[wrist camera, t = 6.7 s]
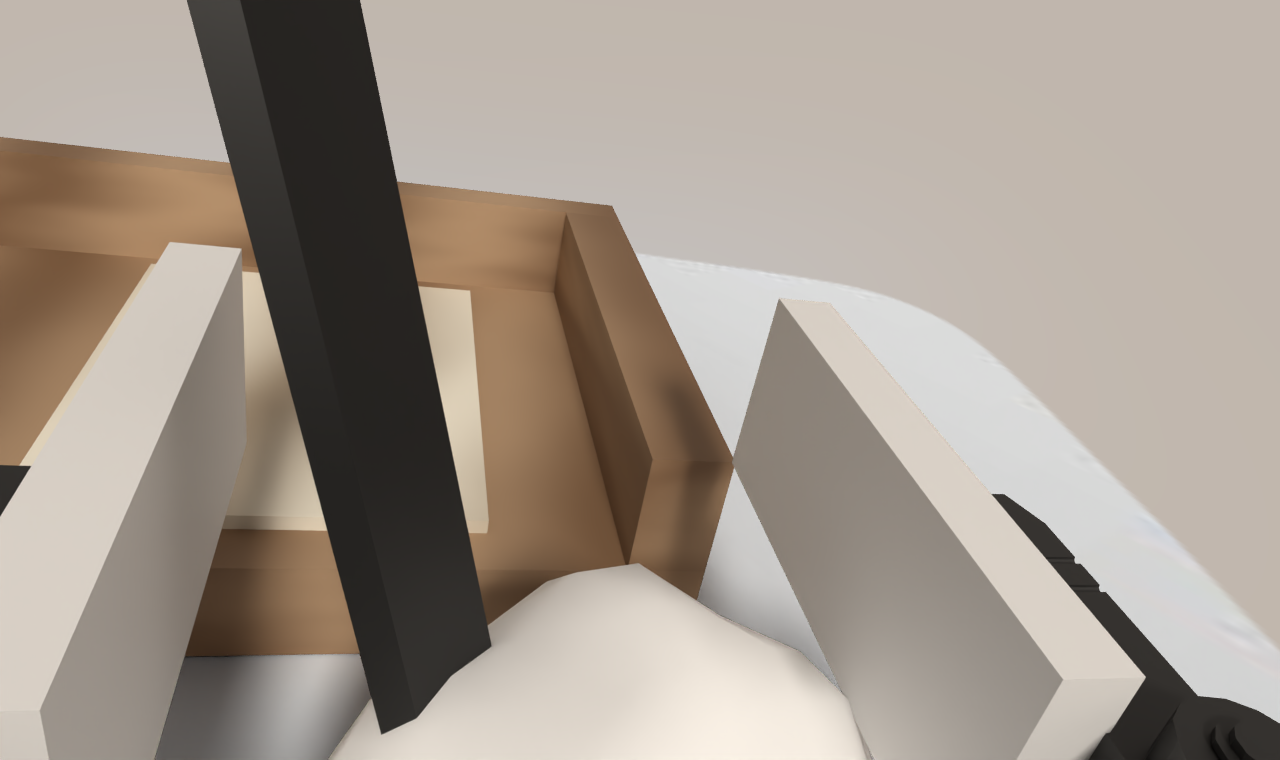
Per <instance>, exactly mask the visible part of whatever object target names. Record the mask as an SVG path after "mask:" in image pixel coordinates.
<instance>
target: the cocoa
mask: <svg viewBox="0 0 1280 760" xmlns="http://www.w3.org/2000/svg"><path fill="white" fill-rule="evenodd" d="M187 2H188V6H189V10H190V14H191V17H192V21H193V25H194V29H195V33H196V36H197V40H198V44H199V47H200V52H201V55H202V59H203V63H204V67H205V70H206V74H207V78H208V82H209V86H210V89H211V93H212V97H213V100H214V104H215V108H216V112H217V116H218V119H219V123H220V127H221V131H222V135H223V138H224V142H225V146H226V150H227V154H228V157H229V161H230V165H231V169H232V173H233V176H234V180H235V184H236V188H237V191H238V195H239V199H240V203H241V207H242V210H243V214H244V218H245V222H246V225H247V229H248V233H249V237H250V241H251V244H252V248H253V252H254V256H255V259H256V263H257V267H258V271H259V275H260V278H261V282H262V286H263V290H264V293H265V297H266V301H267V305H268V309H269V312H270V316H271V320H272V324H273V327H274V331H275V335H276V339H277V343H278V346H279V350H280V354H281V358H282V361H283V365H284V369H285V373H286V377H287V380H288V384H289V388H290V392H291V395H292V399H293V403H294V407H295V411H296V414H297V418H298V422H299V426H300V429H301V433H302V437H303V441H304V445H305V448H306V452H307V456H308V460H309V463H310V467H311V471H312V475H313V479H314V482H315V486H316V490H317V494H318V497H319V501H320V505H321V509H322V513H323V516H324V520H325V524H326V528H327V532H328V535H329V539H330V543H331V547H332V550H333V554H334V558H335V562H336V566H337V569H338V573H339V577H340V581H341V584H342V588H343V592H344V596H345V600H346V603H347V607H348V611H349V615H350V618H351V622H352V626H353V630H354V634H355V637H356V641H357V645H358V649H359V652H360V656H361V660H362V664H363V668H364V671H365V675H366V679H367V683H368V686H369V690H370V694H371V699H370V700H369V702H368V703H367V704H366V706H365V707H364V709H363V710H362V711H361V713H360V714H359V716H358V717H357V719H356V720H355V721H354V723H353V724H352V726H351V727H350V728H349V730H348V731H347V733H346V734H345V735H344V737H343V738H342V740H341V741H340V743H339V744H338V745H337V747H336V748H335V750H334V751H333V752H332V754H331V755H330V757H329V758H328V759H327V760H872V757H871V754H870V750H869V748H868V746H867V744H866V742H865V739H864V737H863V735H862V733H861V731H860V729H859V727H858V725H857V723H856V721H855V719H854V716H853V713H852V709H851V706H850V702H849V700H848V699H847V698H846V697H845V696H844V695H843V694H842V693H841V692H840V691H839V690H838V689H837V688H836V687H835V686H834V685H833V684H832V683H831V682H830V681H829V680H828V679H827V678H826V677H825V676H824V675H823V674H822V673H821V672H820V671H819V670H818V669H817V668H816V667H815V666H814V665H813V664H812V663H811V662H810V661H809V660H808V659H807V658H806V657H805V656H804V655H803V654H802V653H801V652H800V651H798V650H796V649H794V648H791V647H789V646H787V645H785V644H783V643H780V642H778V641H776V640H774V639H771V638H769V637H767V636H765V635H763V634H760V633H758V632H756V631H754V630H751V629H749V628H747V627H745V626H742V625H740V624H738V623H736V622H734V621H731V620H729V619H727V618H725V617H722V616H720V615H718V614H717V613H715V612H714V611H712V610H711V609H709V608H708V607H706V606H704V605H703V604H701V603H700V602H698V601H697V600H695V599H693V598H692V597H690V596H689V595H687V594H686V593H684V592H683V591H681V590H679V589H678V588H676V587H675V586H673V585H672V584H670V583H669V582H667V581H665V580H664V579H662V578H661V577H659V576H658V575H656V574H654V573H653V572H651V571H650V570H648V569H647V568H645V567H644V566H642V565H640V564H639V563H637V564H630V565H623V566H616V567H610V568H603V569H596V570H589V571H583V572H576V573H573V574H569V575H566V576H563V577H560V578H556V579H553V580H550V581H547V582H545V583H544V584H543V585H541V586H540V587H539V588H537V589H536V590H535V591H533V592H532V593H531V594H529V595H528V596H527V597H525V598H524V599H523V600H521V601H520V602H519V603H517V604H516V605H515V606H513V607H512V608H510V609H509V610H508V611H506V612H505V613H504V614H502V615H501V616H500V617H498V618H497V619H496V620H494V621H493V622H492V623H490V624H489V625H488V626H487V621H486V616H485V611H484V606H483V601H482V596H481V591H480V586H479V581H478V576H477V572H476V567H475V562H474V557H473V552H472V547H471V542H470V537H469V532H468V527H467V523H466V518H465V513H464V508H463V503H462V498H461V493H460V488H459V483H458V478H457V474H456V469H455V464H454V459H453V454H452V449H451V444H450V439H449V434H448V429H447V425H446V420H445V415H444V410H443V405H442V400H441V395H440V390H439V385H438V380H437V376H436V371H435V366H434V361H433V356H432V351H431V346H430V341H429V336H428V331H427V326H426V322H425V317H424V312H423V307H422V302H421V297H420V292H419V287H418V282H417V277H416V273H415V268H414V263H413V258H412V253H411V248H410V243H409V238H408V233H407V228H406V224H405V219H404V214H403V209H402V204H401V199H400V194H399V189H398V184H397V179H396V175H395V170H394V165H393V160H392V156H391V150H390V145H389V141H388V136H387V131H386V126H385V121H384V116H383V111H382V106H381V102H380V96H379V91H378V86H377V82H376V77H375V72H374V67H373V62H372V57H371V52H370V47H369V42H368V37H367V32H366V27H365V23H364V18H363V13H362V8H361V3H360V0H187Z"/></svg>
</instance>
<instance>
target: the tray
mask: <svg viewBox="0 0 1280 760" xmlns="http://www.w3.org/2000/svg"><path fill="white" fill-rule="evenodd" d="M397 184H398V189H399V194H400V199H401V204H402V209H403V214H404V219H405V224H406V228H407V233H408V238H409V243H410V248H411V253H412V258H413V263H414V268H415V273H416V277H417V282H418V287H419V292H420V297H421V302H422V307H423V312H424V317H425V322H426V326H427V331H428V336H429V341H430V346H431V351H432V356H433V361H434V366H435V371H436V376H437V380H438V385H439V390H440V395H441V400H442V405H443V410H444V415H445V420H446V425H447V429H448V434H449V439H450V444H451V449H452V454H453V459H454V464H455V469H456V474H457V478H458V483H459V488H460V493H461V498H462V503H463V508H464V513H465V518H466V523H467V527H468V532H469V537H470V542H471V547H472V552H473V557H474V562H475V567H476V572H477V576H478V581H479V586H480V591H481V596H482V601H483V606H484V611H485V616H486V621H487V626H488V625H489V624H490V623H492V622H493V621H494V620H496V619H497V618H498V617H500V616H501V615H502V614H504V613H505V612H506V611H508V610H509V609H510V608H512V607H513V606H515V605H516V604H517V603H519V602H520V601H521V600H523V599H524V598H525V597H527V596H528V595H529V594H531V593H532V592H533V591H535V590H536V589H537V588H539V587H540V586H541V585H543V584H544V583H545V582H547V581H550V580H553V579H556V578H560V577H563V576H566V575H569V574H573V573H576V572H583V571H589V570H596V569H603V568H610V567H616V566H623V565H630V564H637V563H639V564H640V565H642V566H644V567H645V568H647V569H648V570H650V571H651V572H653V573H654V574H656V575H658V576H659V577H661V578H662V579H664V580H665V581H667V582H669V583H670V584H672V585H673V586H675V587H676V588H678V589H679V590H681V591H683V592H684V593H686V594H687V595H689V596H690V597H692V598H693V599H695V600H697V597H698V594H699V590H700V586H701V583H702V579H703V576H704V572H705V569H706V565H707V562H708V558H709V554H710V551H711V547H712V544H713V540H714V537H715V533H716V530H717V526H718V523H719V519H720V515H721V512H722V508H723V505H724V501H725V498H726V494H727V491H728V487H729V483H730V480H731V476H732V473H733V469H734V466H733V464H732V460H733V457H732V455H731V453H730V450H729V448H728V446H727V444H726V442H725V440H724V438H723V436H722V434H721V432H720V430H719V428H718V425H717V423H716V421H715V419H714V417H713V415H712V413H711V411H710V409H709V407H708V405H707V403H706V400H705V398H704V396H703V394H702V392H701V390H700V388H699V386H698V384H697V382H696V380H695V378H694V376H693V373H692V371H691V369H690V367H689V365H688V363H687V361H686V359H685V357H684V355H683V353H682V351H681V348H680V346H679V344H678V342H677V340H676V338H675V336H674V334H673V332H672V330H671V328H670V326H669V324H668V321H667V319H666V317H665V315H664V313H663V311H662V309H661V307H660V305H659V303H658V301H657V299H656V296H655V294H654V292H653V290H652V288H651V286H650V284H649V282H648V280H647V278H646V276H645V274H644V272H643V269H642V267H641V265H640V263H639V261H638V259H637V257H636V255H635V253H634V251H633V249H632V247H631V244H630V243H629V240H628V238H627V236H626V234H625V232H624V230H623V228H622V226H621V224H620V222H619V220H618V217H617V215H616V213H615V212H614V209H613V207H612V206H608V205H600V204H591V203H582V202H573V201H564V200H555V199H547V198H546V199H545V198H537V197H528V196H520V195H511V194H502V193H493V192H484V191H475V190H466V189H458V188H449V187H440V186H430V185H421V184H413V183H404V182H397ZM169 242H176V243H186V244H197V245H208V246H219V247H230V248H241V249H242V281H243V319H244V357H245V396H246V434H247V444H246V447H245V450H244V454H243V457H242V461H241V464H240V468H239V471H238V474H237V478H236V481H235V485H234V488H233V492H232V495H231V498H230V502H229V505H228V509H227V512H226V516H225V519H224V522H223V526H222V529H221V533H220V536H219V540H218V543H217V547H216V550H215V553H214V557H213V560H212V564H211V567H210V571H209V574H208V577H207V581H206V584H205V588H204V591H203V595H202V598H201V601H200V605H199V608H198V612H197V615H196V619H195V622H194V625H193V629H192V632H191V636H190V639H189V643H188V646H187V649H186V653H185V656H235V655H297V654H359V653H360V652H359V649H358V645H357V641H356V637H355V634H354V630H353V626H352V622H351V618H350V615H349V611H348V607H347V603H346V600H345V596H344V592H343V588H342V584H341V581H340V577H339V573H338V569H337V566H336V562H335V558H334V554H333V550H332V547H331V543H330V539H329V535H328V532H327V528H326V524H325V520H324V516H323V513H322V509H321V505H320V501H319V497H318V494H317V490H316V486H315V482H314V479H313V475H312V471H311V467H310V463H309V460H308V456H307V452H306V448H305V445H304V441H303V437H302V433H301V429H300V426H299V422H298V418H297V414H296V411H295V407H294V403H293V399H292V395H291V392H290V388H289V384H288V380H287V377H286V373H285V369H284V365H283V361H282V358H281V354H280V350H279V346H278V343H277V339H276V335H275V331H274V327H273V324H272V320H271V316H270V312H269V309H268V305H267V301H266V297H265V293H264V290H263V286H262V282H261V278H260V275H259V271H258V267H257V263H256V259H255V256H254V252H253V248H252V244H251V241H250V237H249V233H248V229H247V225H246V222H245V218H244V214H243V210H242V207H241V203H240V199H239V195H238V191H237V188H236V184H235V180H234V176H233V173H232V169H231V165H230V163H226V162H217V161H209V160H199V159H191V158H181V157H172V156H164V155H154V154H146V153H137V152H128V151H119V150H111V149H102V148H92V147H84V146H75V145H66V144H57V143H48V142H39V141H30V140H22V139H13V138H3V137H0V465H17V466H32V464H33V463H34V461H35V459H36V458H37V456H38V455H39V453H40V451H41V450H42V448H43V447H44V445H45V443H46V442H47V440H48V438H49V437H50V435H51V434H52V432H53V430H54V429H55V427H56V425H57V424H58V422H59V421H60V419H61V417H62V416H63V414H64V413H65V411H66V409H67V408H68V406H69V404H70V403H71V401H72V400H73V398H74V396H75V395H76V393H77V391H78V390H79V388H80V387H81V385H82V383H83V382H84V380H85V378H86V377H87V375H88V374H89V372H90V370H91V369H92V367H93V366H94V364H95V362H96V361H97V359H98V357H99V356H100V354H101V353H102V351H103V349H104V348H105V346H106V344H107V343H108V341H109V340H110V338H111V336H112V335H113V333H114V332H115V330H116V328H117V327H118V325H119V323H120V322H121V320H122V319H123V317H124V315H125V314H126V312H127V310H128V309H129V307H130V306H131V304H132V302H133V301H134V299H135V297H136V296H137V294H138V293H139V291H140V289H141V288H142V286H143V285H144V283H145V281H146V280H147V278H148V276H149V275H150V273H151V272H152V270H153V268H154V267H155V265H156V263H157V262H158V260H159V259H160V257H161V255H162V254H163V252H164V250H165V249H166V247H167V246H168V244H169Z"/></svg>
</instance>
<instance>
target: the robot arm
mask: <svg viewBox="0 0 1280 760" xmlns="http://www.w3.org/2000/svg"><path fill="white" fill-rule="evenodd" d="M246 444H247V434H246V396H245V357H244V319H243V281H242V249H241V248H230V247H219V246H208V245H197V244H186V243H176V242H169V244H168V246H167V247H166V249H165V250H164V252H163V254H162V255H161V257H160V259H159V260H158V262H157V263H156V265H155V267H154V268H153V270H152V272H151V273H150V275H149V276H148V278H147V280H146V281H145V283H144V285H143V286H142V288H141V289H140V291H139V293H138V294H137V296H136V297H135V299H134V301H133V302H132V304H131V306H130V307H129V309H128V310H127V312H126V314H125V315H124V317H123V319H122V320H121V322H120V323H119V325H118V327H117V328H116V330H115V332H114V333H113V335H112V336H111V338H110V340H109V341H108V343H107V344H106V346H105V348H104V349H103V351H102V353H101V354H100V356H99V357H98V359H97V361H96V362H95V364H94V366H93V367H92V369H91V370H90V372H89V374H88V375H87V377H86V378H85V380H84V382H83V383H82V385H81V387H80V388H79V390H78V391H77V393H76V395H75V396H74V398H73V400H72V401H71V403H70V404H69V406H68V408H67V409H66V411H65V413H64V414H63V416H62V417H61V419H60V421H59V422H58V424H57V425H56V427H55V429H54V430H53V432H52V434H51V435H50V437H49V438H48V440H47V442H46V443H45V445H44V447H43V448H42V450H41V451H40V453H39V455H38V456H37V458H36V459H35V461H34V463H33V464H32V466H17V465H0V760H154V759H155V756H156V752H157V749H158V745H159V742H160V739H161V735H162V732H163V728H164V725H165V721H166V718H167V715H168V711H169V708H170V704H171V701H172V697H173V694H174V691H175V687H176V684H177V680H178V677H179V673H180V670H181V667H182V663H183V660H184V656H185V653H186V649H187V646H188V643H189V639H190V636H191V632H192V629H193V625H194V622H195V619H196V615H197V612H198V608H199V605H200V601H201V598H202V595H203V591H204V588H205V584H206V581H207V577H208V574H209V571H210V567H211V564H212V560H213V557H214V553H215V550H216V547H217V543H218V540H219V536H220V533H221V529H222V526H223V522H224V519H225V516H226V512H227V509H228V505H229V502H230V498H231V495H232V492H233V488H234V485H235V481H236V478H237V474H238V471H239V468H240V464H241V461H242V457H243V454H244V450H245V447H246ZM732 464H733V466H734V468H735V470H736V472H737V474H738V476H739V478H740V480H741V482H742V485H743V487H744V489H745V491H746V493H747V495H748V497H749V499H750V501H751V503H752V505H753V508H754V510H755V512H756V514H757V516H758V518H759V520H760V522H761V524H762V526H763V528H764V530H765V533H766V535H767V537H768V539H769V541H770V543H771V545H772V547H773V549H774V551H775V553H776V556H777V558H778V560H779V562H780V564H781V566H782V568H783V570H784V572H785V574H786V576H787V579H788V581H789V583H790V585H791V587H792V589H793V591H794V593H795V595H796V597H797V599H798V602H799V604H800V606H801V608H802V610H803V612H804V614H805V616H806V618H807V620H808V622H809V625H810V627H811V629H812V631H813V633H814V635H815V637H816V639H817V641H818V643H819V645H820V648H821V650H822V652H823V654H824V656H825V658H826V660H827V662H828V664H829V666H830V668H831V671H832V673H833V675H834V677H835V679H836V681H837V683H838V685H839V687H840V689H841V691H842V693H843V695H844V696H845V697H846V698H847V699H848V700H849V702H850V706H851V709H852V713H853V716H854V719H855V721H856V723H857V725H858V727H859V729H860V731H861V733H862V735H863V737H864V739H865V742H866V744H867V746H868V748H869V750H870V752H871V754H872V756H873V758H874V760H1280V723H1278V722H1276V721H1274V720H1273V719H1271V718H1269V717H1268V716H1266V715H1264V714H1263V713H1261V712H1259V711H1257V710H1255V709H1252V708H1249V707H1246V706H1244V705H1241V704H1238V703H1236V702H1233V701H1230V700H1227V699H1222V698H1212V697H1201V696H1197V694H1196V693H1195V692H1194V691H1193V690H1192V689H1191V688H1190V687H1189V685H1188V684H1187V683H1186V682H1185V681H1184V680H1183V679H1182V678H1181V676H1180V675H1179V674H1178V673H1177V672H1176V671H1175V670H1174V669H1173V667H1172V666H1171V665H1170V664H1169V663H1168V662H1167V661H1166V659H1165V658H1164V657H1163V656H1162V655H1161V654H1160V653H1159V652H1158V650H1157V649H1156V648H1155V647H1154V646H1153V645H1152V644H1151V643H1150V641H1149V640H1148V639H1147V638H1146V637H1145V636H1144V635H1143V634H1142V632H1141V631H1140V630H1139V629H1138V628H1137V627H1136V626H1135V624H1134V623H1133V622H1132V621H1131V620H1130V619H1129V618H1128V617H1127V615H1126V614H1125V613H1124V612H1123V611H1122V610H1121V609H1120V608H1119V606H1118V605H1117V604H1116V603H1115V602H1114V601H1113V600H1112V599H1111V597H1110V596H1109V595H1108V594H1107V593H1106V592H1100V591H1099V584H1098V583H1097V582H1096V580H1095V579H1094V578H1093V577H1092V576H1091V575H1090V574H1089V573H1088V571H1087V570H1086V569H1085V568H1084V567H1083V566H1082V565H1081V564H1075V561H1074V559H1075V557H1074V556H1073V554H1072V553H1071V552H1070V551H1069V550H1068V549H1067V548H1066V547H1065V545H1064V544H1063V543H1062V542H1061V541H1060V540H1059V539H1058V538H1057V536H1056V535H1055V534H1054V533H1053V532H1052V531H1051V530H1050V529H1049V527H1048V526H1047V525H1046V524H1045V523H1044V522H1042V521H1041V520H1039V519H1038V518H1037V517H1035V516H1034V515H1032V514H1031V513H1030V512H1028V511H1027V510H1025V509H1024V508H1023V507H1021V506H1020V505H1018V504H1017V503H1016V502H1014V501H1013V500H1011V499H1010V498H1009V497H1007V496H1006V495H1005V494H991V493H990V492H989V491H988V490H987V488H986V487H985V486H984V485H983V484H982V483H981V481H980V480H979V479H978V478H977V477H976V475H975V474H974V473H973V472H972V471H971V469H970V468H969V467H968V466H967V465H966V464H965V462H964V461H963V460H962V459H961V458H960V456H959V455H958V454H957V453H956V452H955V451H954V449H953V448H952V447H951V446H950V445H949V443H948V442H947V441H946V440H945V439H944V438H943V436H942V435H941V434H940V433H939V432H938V430H937V429H936V428H935V427H934V426H933V424H932V423H931V422H930V421H929V420H928V419H927V417H926V416H925V415H924V414H923V413H922V411H921V410H920V409H919V408H918V407H917V406H916V404H915V403H914V402H913V401H912V400H911V398H910V397H909V396H908V395H907V394H906V392H905V391H904V390H903V389H902V388H901V387H900V385H899V384H898V383H897V382H896V381H895V379H894V378H893V377H892V376H891V375H890V374H889V372H888V371H887V370H886V369H885V368H884V366H883V365H882V364H881V363H880V362H879V361H878V359H877V358H876V357H875V356H874V355H873V353H872V352H871V351H870V350H869V349H868V347H867V346H866V345H865V344H864V343H863V342H862V340H861V339H860V338H859V337H858V336H857V334H856V333H855V332H854V331H853V330H852V329H851V327H850V326H849V325H848V324H847V323H846V321H845V320H844V319H843V318H842V317H841V315H840V314H839V313H838V312H837V311H836V310H835V308H834V307H833V306H832V305H831V304H830V303H825V302H814V301H803V300H792V299H782V298H779V300H778V304H777V307H776V311H775V314H774V318H773V321H772V325H771V328H770V332H769V335H768V339H767V342H766V346H765V349H764V353H763V356H762V359H761V363H760V366H759V370H758V373H757V377H756V380H755V384H754V387H753V391H752V394H751V398H750V401H749V405H748V408H747V412H746V415H745V419H744V422H743V426H742V429H741V432H740V436H739V439H738V443H737V446H736V450H735V453H734V457H733V460H732Z"/></svg>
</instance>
